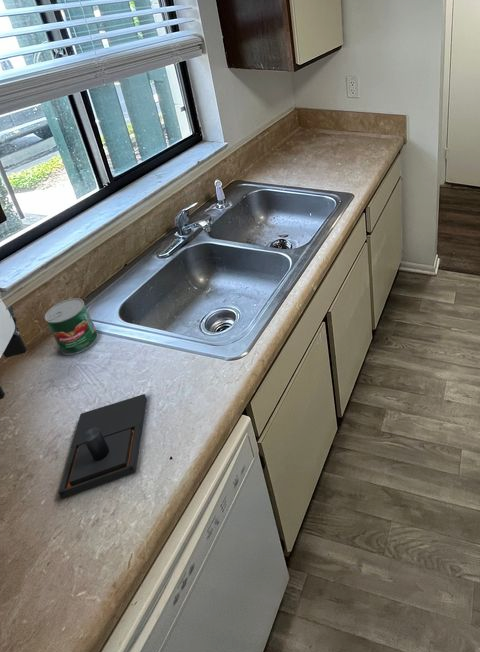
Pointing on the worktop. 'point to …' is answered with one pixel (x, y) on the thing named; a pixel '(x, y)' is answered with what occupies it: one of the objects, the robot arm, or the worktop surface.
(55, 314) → the canned tomato
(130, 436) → the black pad
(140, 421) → the base pad
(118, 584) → the worktop surface
